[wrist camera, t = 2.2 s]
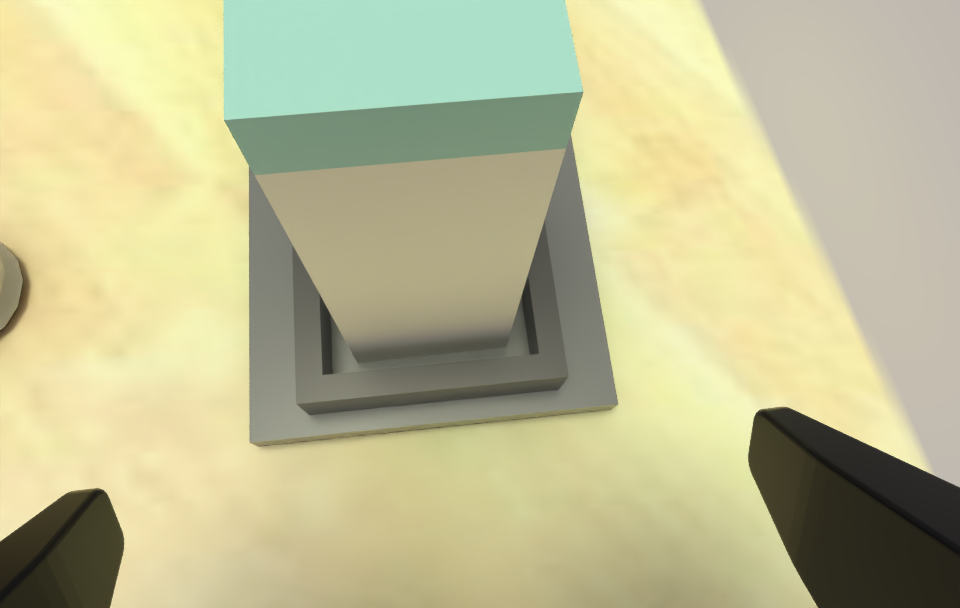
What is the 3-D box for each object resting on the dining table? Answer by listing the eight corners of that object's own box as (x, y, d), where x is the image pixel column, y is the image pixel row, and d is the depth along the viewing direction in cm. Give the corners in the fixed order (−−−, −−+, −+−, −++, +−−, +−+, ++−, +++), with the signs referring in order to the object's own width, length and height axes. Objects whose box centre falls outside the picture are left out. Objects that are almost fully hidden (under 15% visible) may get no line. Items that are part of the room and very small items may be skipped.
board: (611, 409, 23) (633, 392, 20) (258, 446, 22) (230, 433, 20) (533, -43, 30) (542, -104, 27) (255, -28, 29) (233, -90, 26)
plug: (506, 347, 23) (583, 91, 10) (357, 363, 22) (223, 119, 9) (487, 214, 24) (531, -164, 11) (348, 227, 24) (223, -149, 11)
